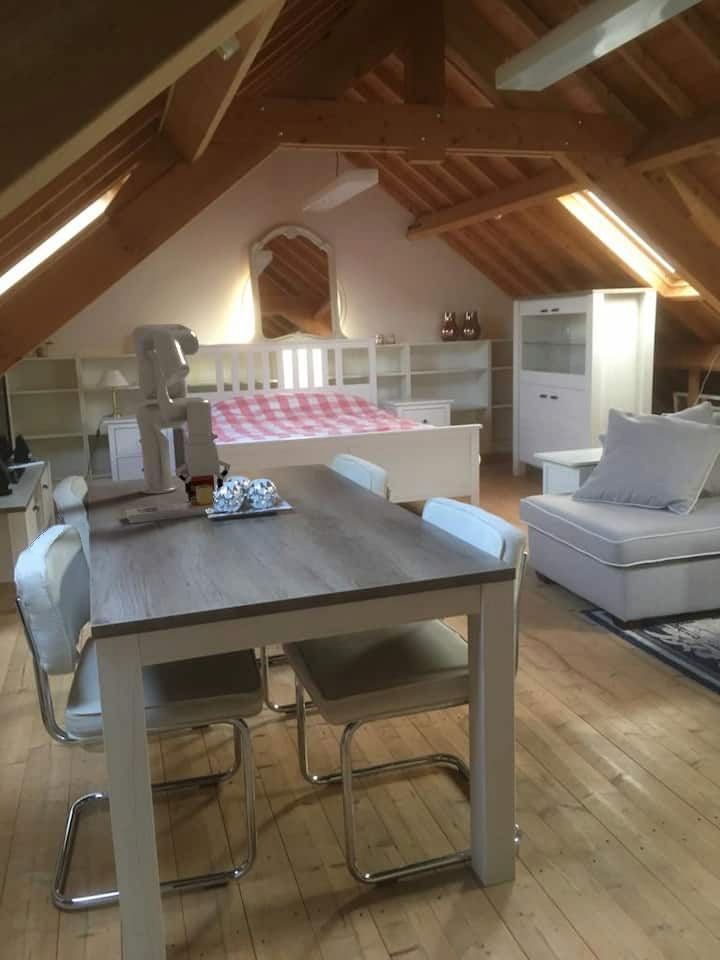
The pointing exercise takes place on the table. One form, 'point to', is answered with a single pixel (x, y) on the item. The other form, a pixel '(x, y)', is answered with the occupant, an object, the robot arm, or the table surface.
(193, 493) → the supplement box
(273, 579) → the table surface
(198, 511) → the grey board
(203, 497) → the yellow rectangular block
